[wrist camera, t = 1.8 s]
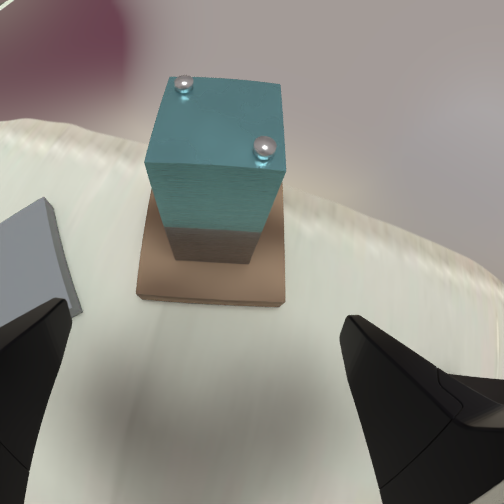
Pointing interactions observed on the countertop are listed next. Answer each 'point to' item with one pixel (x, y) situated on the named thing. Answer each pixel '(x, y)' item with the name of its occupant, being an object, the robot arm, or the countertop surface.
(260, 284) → the stand
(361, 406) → the robot arm
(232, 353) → the countertop surface
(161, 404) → the countertop surface
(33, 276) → the stand
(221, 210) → the block
